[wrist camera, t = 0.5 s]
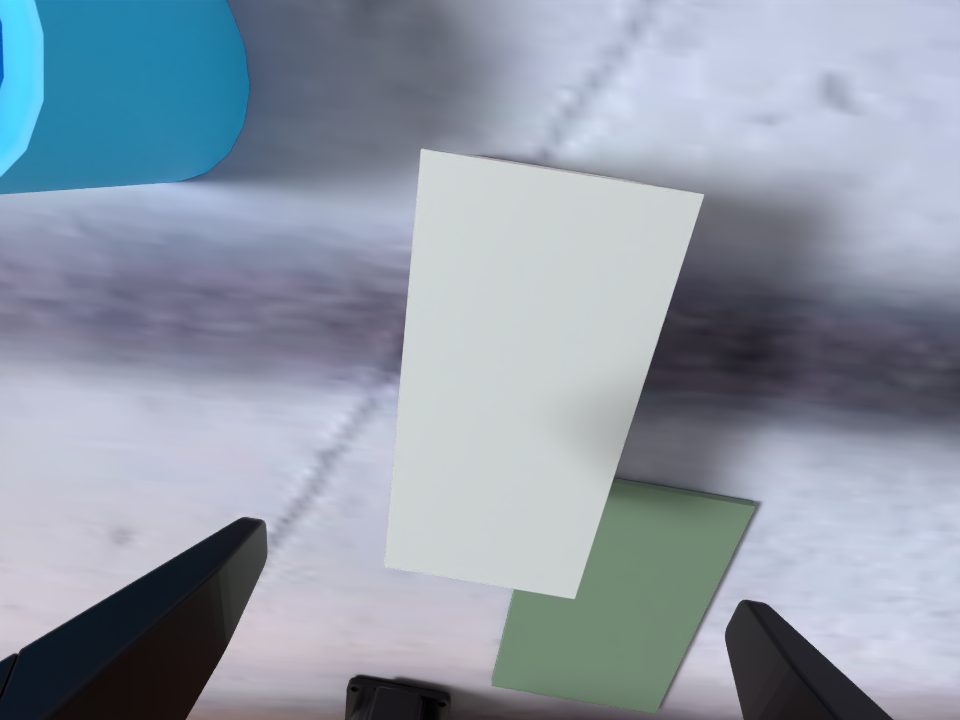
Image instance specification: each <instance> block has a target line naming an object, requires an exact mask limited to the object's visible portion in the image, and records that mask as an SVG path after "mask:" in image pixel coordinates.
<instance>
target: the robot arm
mask: <svg viewBox="0 0 960 720" xmlns="http://www.w3.org/2000/svg"><path fill="white" fill-rule="evenodd" d="M266 559H267V531H266V523H265V522H264V521H263V520H261V519H255V518H249V517H242V518H240V519H238V520H236V521H234V522H233V523H231V524H229V525H228V526H226V527H224V528H223V529H221V530H219V531H218V532H216V533H214V534H213V535H211V536H209V537H208V538H206V539H204V540H203V541H201V542H199V543H198V544H196V545H194V546H193V547H191V548H189V549H188V550H186V551H184V552H183V553H181V554H179V555H178V556H176V557H174V558H173V559H171V560H169V561H168V562H166V563H164V564H162V565H161V566H159V567H157V568H156V569H154V570H152V571H151V572H149V573H147V574H146V575H144V576H142V577H141V578H139V579H137V580H136V581H134V582H132V583H131V584H129V585H127V586H126V587H124V588H122V589H121V590H119V591H117V592H116V593H114V594H112V595H111V596H109V597H107V598H106V599H104V600H102V601H101V602H99V603H97V604H96V605H94V606H92V607H91V608H89V609H87V610H86V611H84V612H82V613H81V614H79V615H77V616H76V617H74V618H72V619H71V620H69V621H67V622H66V623H64V624H62V625H61V626H59V627H57V628H56V629H54V630H52V631H51V632H49V633H47V634H46V635H44V636H42V637H41V638H39V639H37V640H35V641H34V642H32V643H30V644H29V645H27V646H25V647H24V648H22V649H21V650H20V651H19V653H18V654H17V653H14V654H12V655H10V656H8V657H7V658H5V659H3V660H2V661H0V720H186V718H187V716H188V715H189V713H190V711H191V709H192V708H193V706H194V704H195V702H196V701H197V699H198V697H199V695H200V694H201V692H202V690H203V689H204V687H205V685H206V683H207V682H208V680H209V678H210V676H211V675H212V673H213V671H214V669H215V668H216V666H217V664H218V663H219V661H220V659H221V657H222V655H223V653H224V652H225V650H226V648H227V646H228V644H229V642H230V640H231V638H232V636H233V634H234V631H235V629H236V627H237V625H238V623H239V620H240V618H241V616H242V614H243V612H244V609H245V607H246V605H247V603H248V601H249V598H250V596H251V594H252V592H253V590H254V587H255V585H256V583H257V581H258V579H259V576H260V574H261V572H262V570H263V568H264V565H265V562H266ZM725 641H726V646H727V651H728V655H729V659H730V663H731V668H732V672H733V676H734V680H735V684H736V689H737V693H738V697H739V701H740V706H741V710H742V714H743V718H744V720H893V719H892V718H891V717H890V716H889V715H888V714H887V713H886V712H885V711H883V710H882V709H881V708H880V707H879V706H878V705H877V704H876V703H875V702H874V701H873V700H871V699H870V698H869V697H868V696H867V695H866V694H865V693H864V692H863V691H862V690H861V689H859V688H858V687H857V686H856V685H855V684H854V683H853V682H852V681H851V680H850V679H849V678H847V677H846V676H845V675H844V674H843V673H842V672H841V671H840V670H839V669H838V668H837V667H835V666H834V665H833V664H832V663H831V662H830V661H829V660H828V659H827V658H826V657H825V656H823V655H822V654H821V653H820V652H819V651H818V650H817V649H816V648H815V647H814V646H813V645H812V644H810V643H809V642H808V641H807V640H806V639H805V638H804V637H803V636H802V635H801V634H800V633H798V632H797V631H796V630H795V629H794V628H793V627H792V626H791V625H790V624H789V623H788V622H786V621H785V620H784V619H783V618H782V617H781V616H780V615H779V614H778V613H777V612H776V611H774V610H773V609H772V608H771V607H770V606H769V605H767V604H765V603H763V602H757V601H751V600H742V601H741V602H740V603H739V604H738V606H737V608H736V610H735V612H734V614H733V616H732V618H731V620H730V622H729V624H728V626H727V628H726V632H725ZM450 701H451V697H450V696H449V695H448V694H446V693H443V692H437V691H431V690H425V689H419V688H414V687H408V686H402V685H396V684H390V683H385V682H379V681H373V680H367V679H362V678H351V679H350V680H349V683H348V686H347V696H346V715H345V720H447V718H448V713H449V708H450Z"/></svg>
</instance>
